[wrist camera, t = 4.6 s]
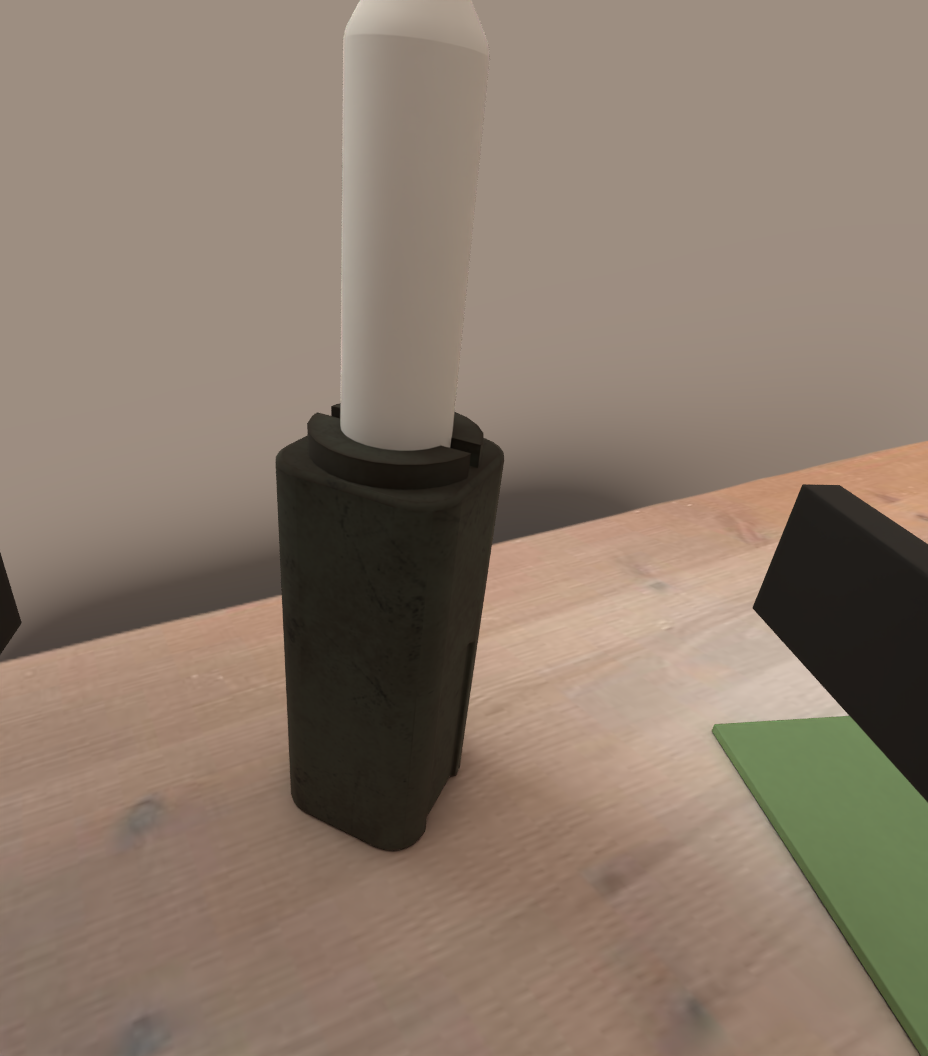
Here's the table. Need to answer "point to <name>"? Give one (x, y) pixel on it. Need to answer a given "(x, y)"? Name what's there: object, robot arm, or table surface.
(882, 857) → the cloth
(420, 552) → the candle
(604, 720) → the table surface
